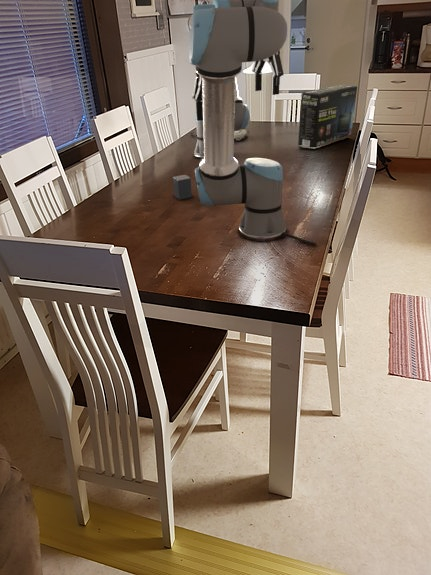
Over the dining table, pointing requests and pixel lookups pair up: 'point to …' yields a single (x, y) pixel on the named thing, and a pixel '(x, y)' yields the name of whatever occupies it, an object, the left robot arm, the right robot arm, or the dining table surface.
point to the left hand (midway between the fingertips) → (266, 92)
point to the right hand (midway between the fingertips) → (209, 123)
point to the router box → (326, 115)
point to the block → (182, 187)
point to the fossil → (240, 133)
